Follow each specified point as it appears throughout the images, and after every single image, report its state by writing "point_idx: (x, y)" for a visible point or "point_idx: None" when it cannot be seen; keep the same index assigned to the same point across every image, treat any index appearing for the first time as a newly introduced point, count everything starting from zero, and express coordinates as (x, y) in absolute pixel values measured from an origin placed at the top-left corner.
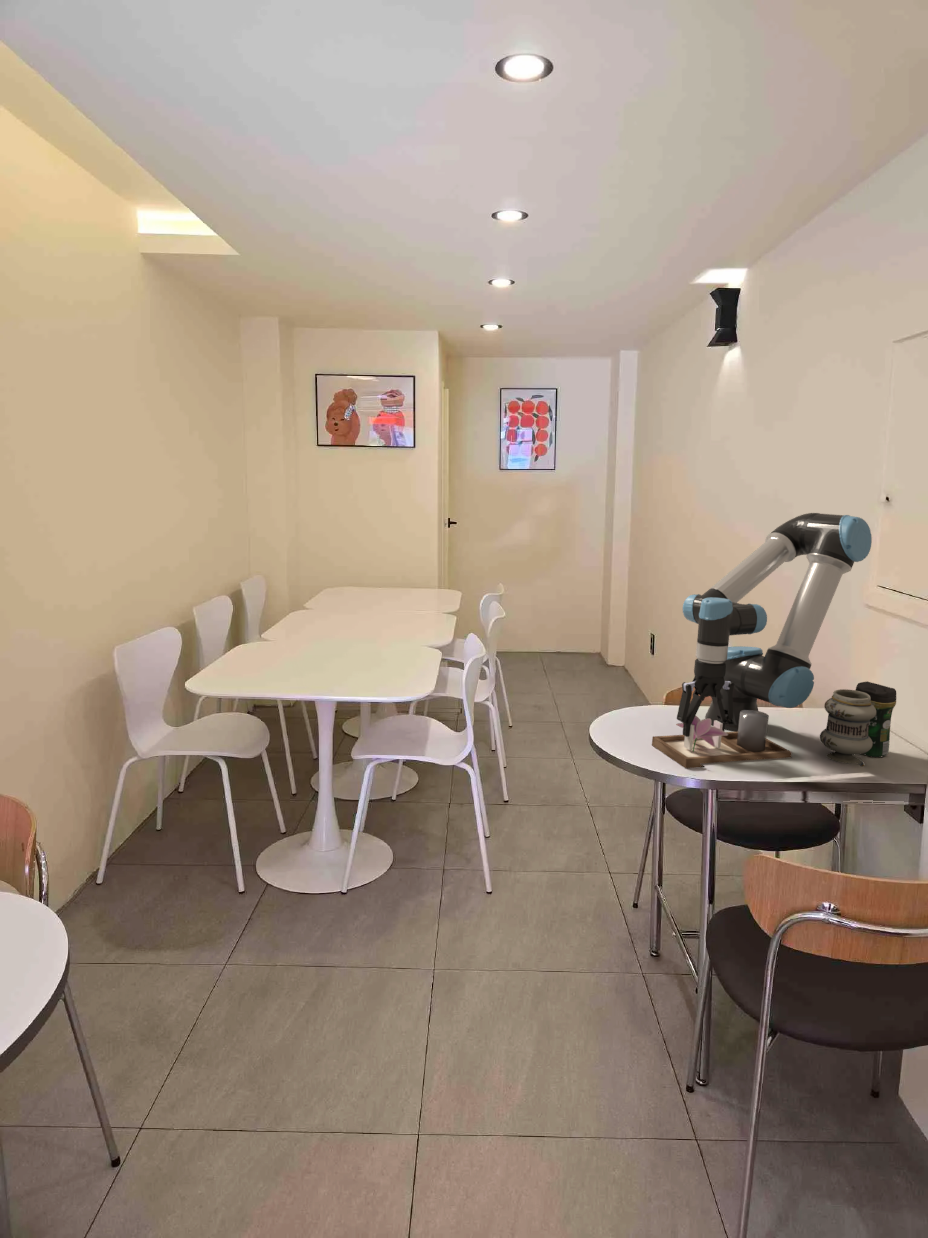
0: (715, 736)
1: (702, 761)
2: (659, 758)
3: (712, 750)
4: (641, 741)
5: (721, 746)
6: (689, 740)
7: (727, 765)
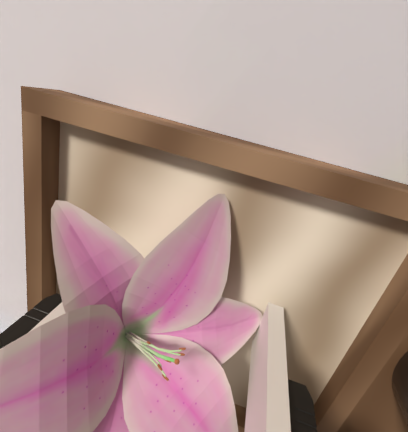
0: (258, 365)
1: None
2: (18, 227)
3: None
4: (39, 8)
5: (325, 314)
6: None
7: None
